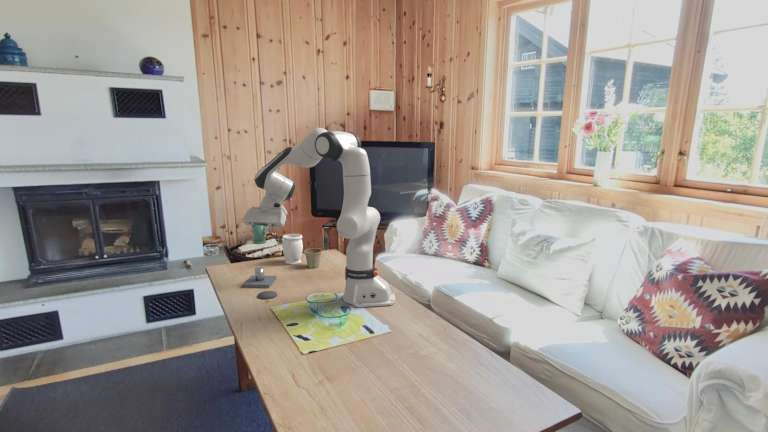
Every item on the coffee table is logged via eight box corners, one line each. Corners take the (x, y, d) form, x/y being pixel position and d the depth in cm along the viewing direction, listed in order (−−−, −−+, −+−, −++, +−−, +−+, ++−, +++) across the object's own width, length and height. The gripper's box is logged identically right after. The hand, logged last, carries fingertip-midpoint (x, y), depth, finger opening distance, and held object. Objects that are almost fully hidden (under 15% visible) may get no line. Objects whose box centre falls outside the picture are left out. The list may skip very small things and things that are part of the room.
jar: (307, 261, 228) (306, 235, 225) (293, 266, 220) (292, 239, 217) (293, 258, 234) (292, 232, 231) (279, 263, 225) (278, 236, 222)
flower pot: (301, 268, 217) (301, 252, 215) (307, 263, 226) (307, 247, 224) (319, 269, 215) (318, 253, 213) (324, 264, 224) (324, 248, 223)
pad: (279, 292, 184) (279, 291, 184) (273, 299, 177) (273, 298, 176) (261, 292, 185) (261, 290, 184) (255, 299, 177) (255, 297, 177)
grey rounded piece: (266, 277, 198) (265, 266, 197) (262, 282, 192) (261, 271, 191) (257, 277, 198) (257, 266, 197) (253, 282, 192) (252, 270, 191)
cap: (267, 241, 192) (267, 224, 191) (263, 244, 187) (263, 226, 185) (255, 240, 193) (254, 223, 191) (251, 244, 187) (250, 226, 185)
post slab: (276, 278, 201) (276, 275, 201) (268, 287, 189) (268, 284, 189) (251, 278, 202) (251, 275, 201) (242, 287, 190) (242, 284, 189)
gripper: (246, 203, 196) (235, 227, 189) (285, 205, 190) (275, 230, 183) (252, 210, 201) (241, 235, 194) (290, 213, 195) (280, 238, 188)
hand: (258, 233), depth 188 cm, fingers closed on cap, 5 cm apart
